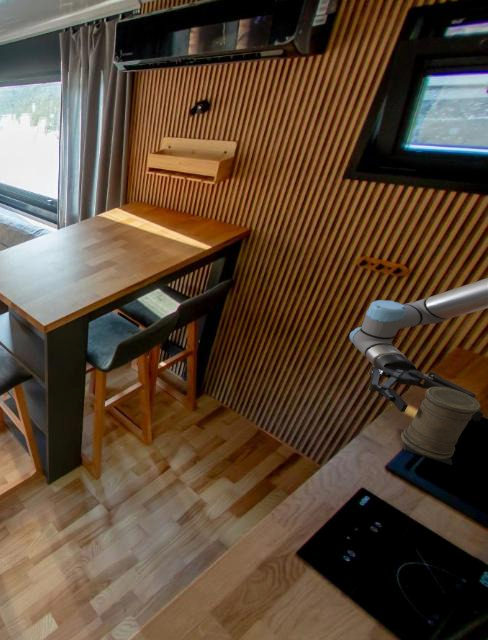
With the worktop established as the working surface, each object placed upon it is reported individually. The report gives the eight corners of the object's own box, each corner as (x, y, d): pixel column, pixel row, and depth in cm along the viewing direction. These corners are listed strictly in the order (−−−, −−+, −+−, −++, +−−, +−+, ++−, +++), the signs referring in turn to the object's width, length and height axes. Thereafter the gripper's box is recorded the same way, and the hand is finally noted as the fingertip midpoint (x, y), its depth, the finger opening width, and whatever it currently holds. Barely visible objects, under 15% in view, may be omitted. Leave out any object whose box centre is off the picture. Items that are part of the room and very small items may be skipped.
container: (442, 465, 94) (474, 416, 87) (393, 440, 102) (418, 393, 94) (459, 450, 97) (491, 401, 89) (409, 427, 104) (435, 380, 97)
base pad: (445, 445, 99) (446, 442, 99) (451, 466, 95) (452, 463, 94) (400, 432, 105) (401, 429, 104) (403, 451, 100) (405, 448, 99)
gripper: (443, 376, 109) (505, 432, 92) (333, 366, 119) (371, 414, 102) (454, 357, 106) (520, 410, 89) (340, 348, 116) (380, 395, 99)
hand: (440, 413), depth 95 cm, fingers open, 13 cm apart
